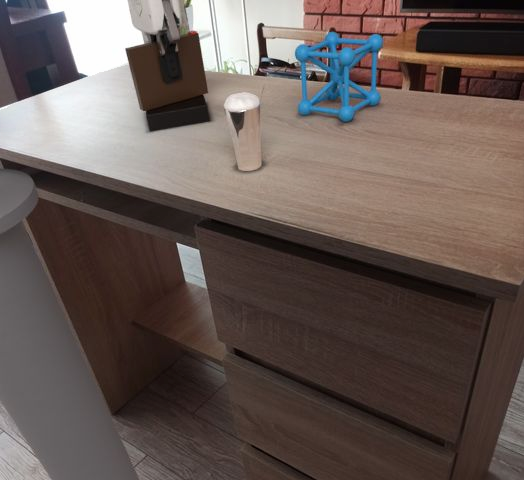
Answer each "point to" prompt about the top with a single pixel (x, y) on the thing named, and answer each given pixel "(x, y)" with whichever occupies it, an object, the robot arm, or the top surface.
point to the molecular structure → (339, 74)
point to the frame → (150, 76)
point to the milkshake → (245, 129)
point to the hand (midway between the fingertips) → (170, 78)
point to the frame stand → (178, 114)
